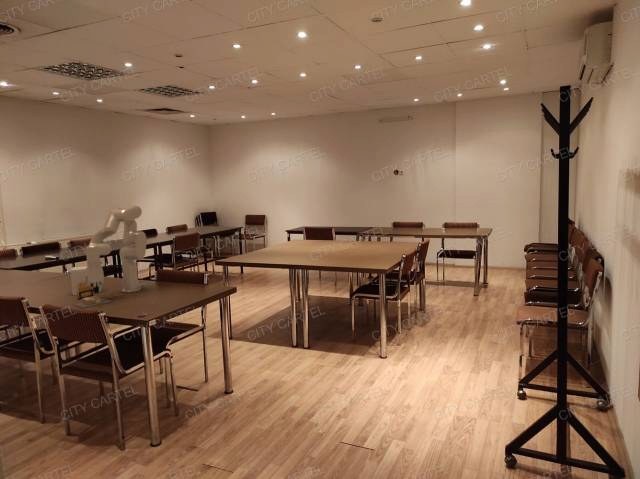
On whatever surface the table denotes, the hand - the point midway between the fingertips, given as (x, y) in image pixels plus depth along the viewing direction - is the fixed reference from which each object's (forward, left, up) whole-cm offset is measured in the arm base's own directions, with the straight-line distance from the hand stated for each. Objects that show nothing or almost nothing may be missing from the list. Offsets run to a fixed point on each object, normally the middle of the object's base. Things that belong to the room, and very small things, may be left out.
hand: (96, 292), depth 294 cm
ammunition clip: (-1, -20, -7) cm, 21 cm away
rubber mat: (+3, 0, -6) cm, 7 cm away
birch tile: (-1, 0, -4) cm, 4 cm away
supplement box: (-9, -36, -7) cm, 38 cm away
